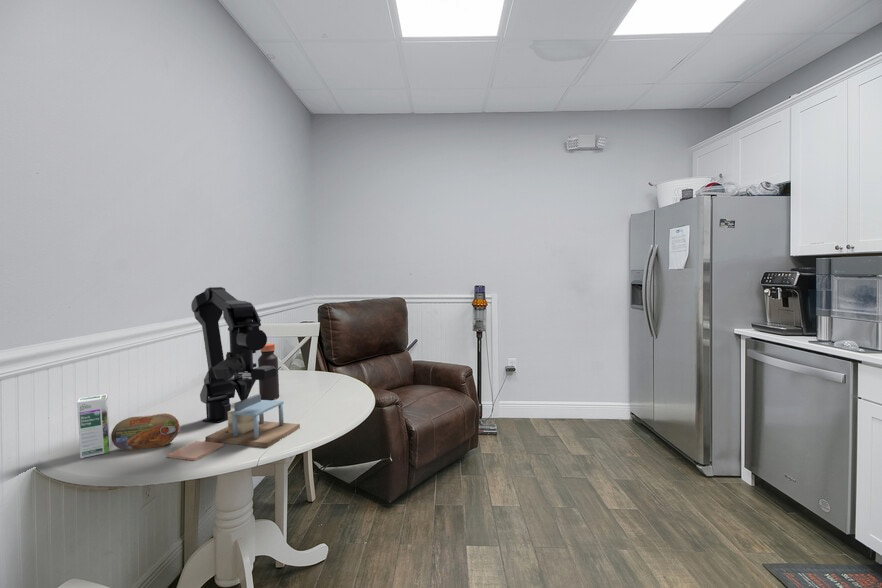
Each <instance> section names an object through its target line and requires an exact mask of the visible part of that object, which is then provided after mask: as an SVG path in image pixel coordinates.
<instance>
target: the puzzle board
mask: <svg viewBox="0 0 882 588" xmlns="http://www.w3.org/2000/svg"><path fill="white" fill-rule="evenodd" d="M300 424H301V423H292V422H291V423H289V422H284V425H279V421H278V422H277V421H276V422H275V421H268V420H267V421H266V420H264V423H263V424H260V422H259V420H258V425H259V439H254V429H253V430H251V431H249V432H247V433H245V434H238V437H233V433H229V431H228V426H226V427H224V428H221V429H219V430H218V431H215V432H213V433H211V434H209V435H206V436H205V440H204V441H205V442H208V441H210V442H213V443H218V442H222V443H223V444H228V443H231V444H230V445H238V444H240V446H250V447H261V448H269V447H271V446H273V445H275V444H276V443H278V442H279V441H281V440H283V439H284V438H286V437H287V435H288V436H289V435H291V434H293V433H294V432H296V431H298V430H299V429H301V425H300ZM298 428H299V429H298ZM297 429H298V430H297ZM295 430H296V431H295ZM292 432H293V433H292ZM290 433H291V434H290ZM285 436H286V437H285ZM282 438H283V439H282ZM280 439H281V440H280Z"/></svg>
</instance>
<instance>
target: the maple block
mask: <svg viewBox="0 0 882 588" xmlns="http://www.w3.org/2000/svg"><path fill="white" fill-rule="evenodd" d="M233 411H234V408H233V409H231V411H228V419H227V424H228V425H227V427H228V431H229V433H233V425H232V415H231V412H233ZM237 426H238V434H245V433H247V432H249V431H251V430H253V429H254V424H253V416H244V415H237Z"/></svg>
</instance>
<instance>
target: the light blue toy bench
mask: <svg viewBox="0 0 882 588" xmlns="http://www.w3.org/2000/svg"><path fill="white" fill-rule="evenodd" d="M284 403H285V401H284V400H261V395H260V394H259V393H258V394H254V395H252V396H250V397H249V396H248V398H247V399H244V400H242V401H241V400H240V401H238V402H235V403H233V405H234V408H233V409H234V411H233V412H231V415H232V425H233V437H238V426H237V415H244V416H253V424H254V439H259V425H258V421H259V422H260V424H263V423H264V421H265V418H264V413H267V412H268V411H271V410H273V409H275V408H277V407H278V422H279V425H284V423H285V421H284Z"/></svg>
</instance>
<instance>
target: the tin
mask: <svg viewBox="0 0 882 588" xmlns="http://www.w3.org/2000/svg"><path fill="white" fill-rule="evenodd" d="M179 431H180V423H179V420H178V418H177V417H176V416H174V415H173V414H170V413H155V414H147V415H137V416H131V417H128V418H125V419H123V420H120V421H119V422H118V423H117V424H115V426H114V427H113V429H112V431H111V436H110V437H111V438H110V439H111V442H112V444H113V445H114V446H115V447H116V448H118V449H119V450H121V451H125V452H126V451H129V452H130V451H136V450H144V449H151V448H159V447H165V446H166V445H169V444H170V443H172V441H174V439H175V438H177V437H178V435H179Z"/></svg>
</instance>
